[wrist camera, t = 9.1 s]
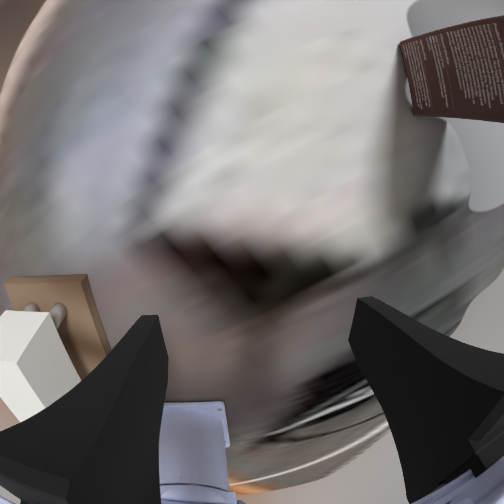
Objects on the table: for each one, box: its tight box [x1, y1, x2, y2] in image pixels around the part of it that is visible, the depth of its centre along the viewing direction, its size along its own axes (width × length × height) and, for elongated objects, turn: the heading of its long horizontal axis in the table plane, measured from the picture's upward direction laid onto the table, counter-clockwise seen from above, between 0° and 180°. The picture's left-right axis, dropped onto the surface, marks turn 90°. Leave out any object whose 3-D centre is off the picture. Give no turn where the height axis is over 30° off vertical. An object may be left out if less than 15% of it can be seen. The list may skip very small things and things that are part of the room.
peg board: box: [4, 274, 111, 381], centre depth 18 cm, size 12×8×4 cm, turn 0°
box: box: [400, 16, 504, 123], centre depth 10 cm, size 6×4×12 cm
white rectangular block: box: [0, 310, 81, 422], centre depth 14 cm, size 10×4×5 cm, turn 0°
